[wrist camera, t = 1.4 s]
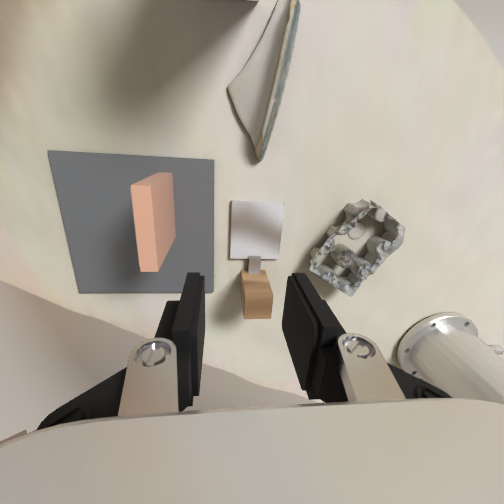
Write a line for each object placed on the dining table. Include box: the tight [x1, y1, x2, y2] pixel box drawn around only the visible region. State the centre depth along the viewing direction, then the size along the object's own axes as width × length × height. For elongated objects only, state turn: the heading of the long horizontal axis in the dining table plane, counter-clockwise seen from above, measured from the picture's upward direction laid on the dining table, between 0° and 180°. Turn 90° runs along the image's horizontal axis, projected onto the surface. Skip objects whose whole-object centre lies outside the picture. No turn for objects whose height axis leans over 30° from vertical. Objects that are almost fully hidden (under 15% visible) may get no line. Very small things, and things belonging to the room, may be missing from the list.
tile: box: [130, 172, 176, 272], centre depth 24 cm, size 2×7×9 cm, turn 177°
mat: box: [48, 150, 214, 293], centre depth 29 cm, size 16×16×1 cm
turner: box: [230, 200, 285, 319], centre depth 29 cm, size 12×6×6 cm, turn 177°
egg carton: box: [309, 199, 405, 296], centre depth 31 cm, size 11×8×4 cm
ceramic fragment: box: [227, 0, 301, 162], centre depth 24 cm, size 14×5×4 cm, turn 166°
